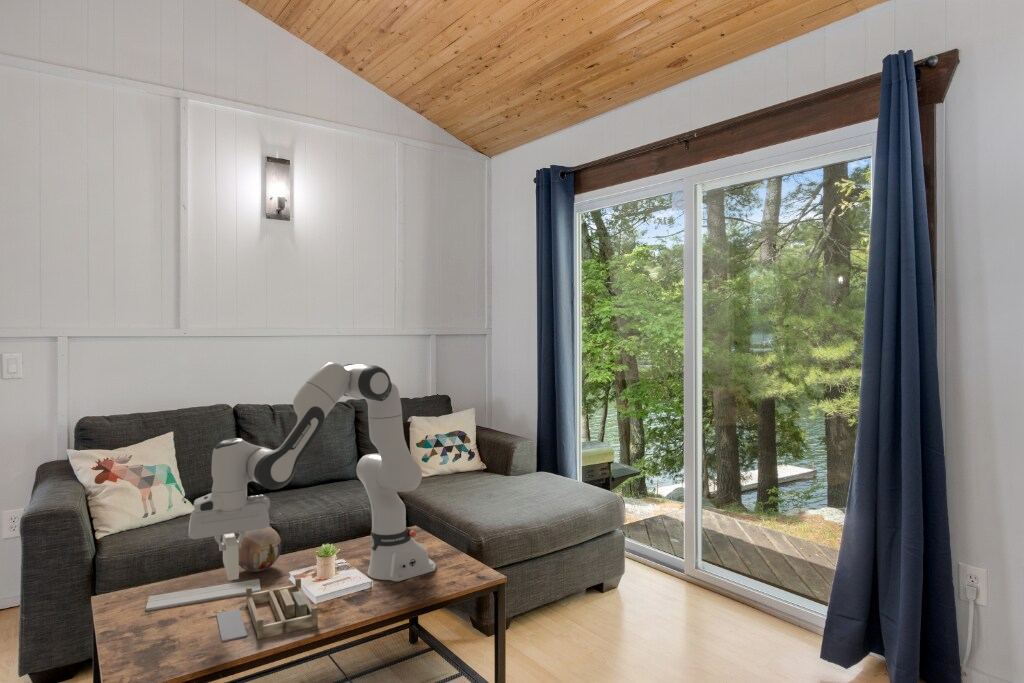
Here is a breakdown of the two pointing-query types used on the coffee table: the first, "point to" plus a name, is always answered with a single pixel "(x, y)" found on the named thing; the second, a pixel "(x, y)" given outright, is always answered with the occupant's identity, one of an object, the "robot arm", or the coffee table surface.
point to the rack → (279, 612)
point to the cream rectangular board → (231, 556)
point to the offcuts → (292, 603)
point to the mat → (231, 625)
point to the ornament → (259, 549)
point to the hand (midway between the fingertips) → (230, 549)
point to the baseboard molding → (201, 594)
